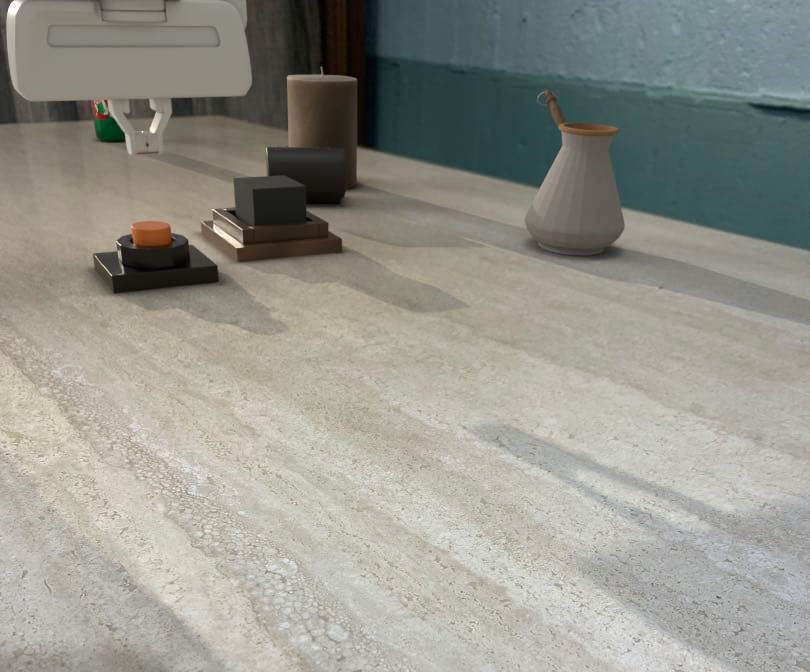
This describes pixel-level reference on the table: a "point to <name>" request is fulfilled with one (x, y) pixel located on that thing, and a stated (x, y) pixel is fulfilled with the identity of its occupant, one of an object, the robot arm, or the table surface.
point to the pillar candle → (324, 115)
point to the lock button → (151, 233)
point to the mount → (269, 237)
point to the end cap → (311, 170)
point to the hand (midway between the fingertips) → (145, 153)
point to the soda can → (106, 123)
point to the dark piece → (154, 265)
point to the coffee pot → (577, 191)
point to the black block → (269, 200)
